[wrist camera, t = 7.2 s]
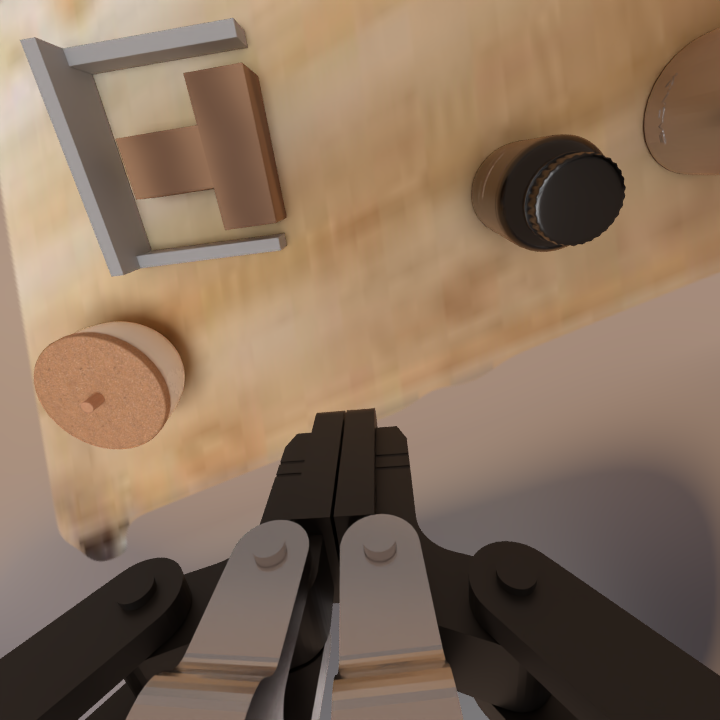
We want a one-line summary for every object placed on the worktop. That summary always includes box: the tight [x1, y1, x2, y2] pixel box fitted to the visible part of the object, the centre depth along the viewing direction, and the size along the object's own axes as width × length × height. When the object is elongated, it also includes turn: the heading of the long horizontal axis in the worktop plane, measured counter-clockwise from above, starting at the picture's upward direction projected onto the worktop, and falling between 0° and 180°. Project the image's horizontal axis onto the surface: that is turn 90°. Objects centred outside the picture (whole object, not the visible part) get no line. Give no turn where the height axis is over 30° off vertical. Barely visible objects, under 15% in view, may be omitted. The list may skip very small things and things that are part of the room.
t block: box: [116, 63, 286, 230], centre depth 30 cm, size 10×10×4 cm
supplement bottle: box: [472, 135, 626, 252], centre depth 27 cm, size 7×7×12 cm
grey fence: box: [20, 18, 287, 276], centre depth 30 cm, size 13×15×5 cm
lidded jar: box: [34, 321, 185, 449], centre depth 36 cm, size 11×11×9 cm
